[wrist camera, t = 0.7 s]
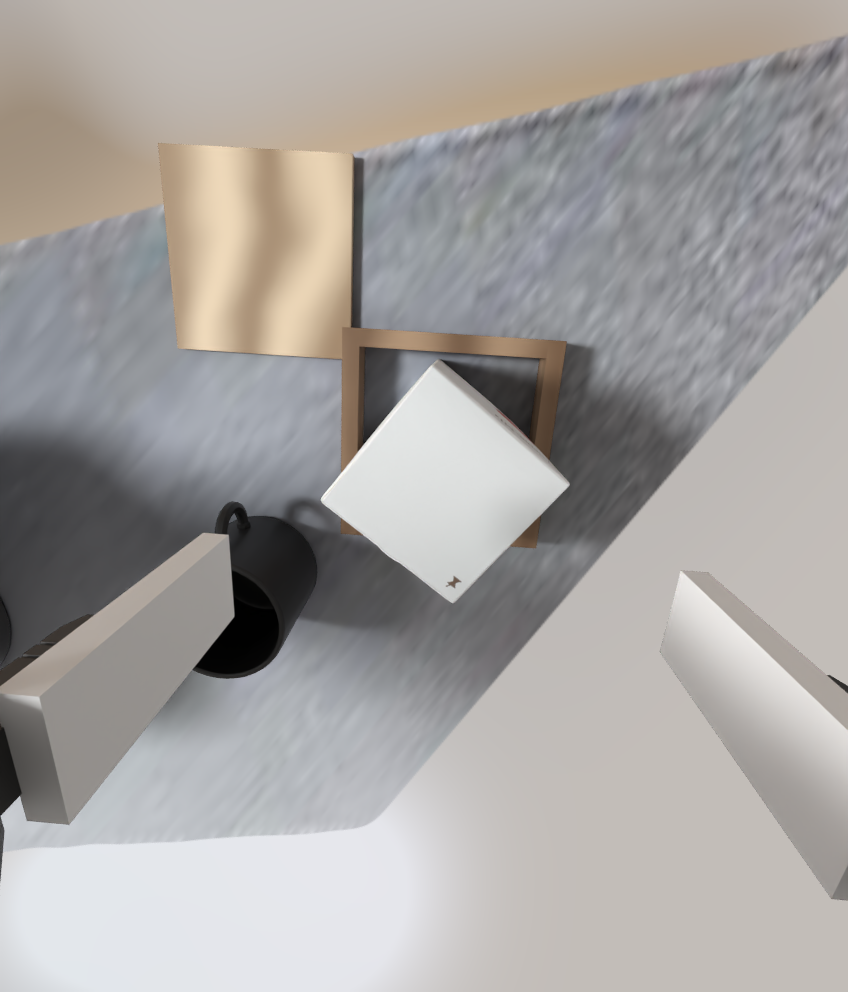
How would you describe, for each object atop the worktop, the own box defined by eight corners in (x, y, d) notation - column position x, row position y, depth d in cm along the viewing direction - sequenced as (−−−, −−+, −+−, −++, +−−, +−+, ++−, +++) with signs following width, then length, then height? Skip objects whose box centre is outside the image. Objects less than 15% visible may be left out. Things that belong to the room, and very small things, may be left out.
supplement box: (527, 432, 36) (580, 487, 22) (451, 514, 38) (454, 612, 24) (438, 353, 35) (433, 358, 20) (365, 443, 37) (314, 504, 23)
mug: (310, 484, 38) (271, 524, 30) (322, 612, 42) (290, 681, 33) (199, 485, 39) (128, 524, 30) (220, 611, 42) (163, 678, 34)
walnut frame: (347, 522, 39) (340, 533, 37) (349, 328, 34) (342, 326, 32) (530, 535, 39) (536, 548, 36) (558, 341, 34) (566, 341, 32)
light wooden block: (182, 348, 35) (177, 348, 35) (163, 146, 31) (157, 143, 31) (351, 359, 35) (350, 359, 34) (354, 157, 31) (352, 153, 30)
